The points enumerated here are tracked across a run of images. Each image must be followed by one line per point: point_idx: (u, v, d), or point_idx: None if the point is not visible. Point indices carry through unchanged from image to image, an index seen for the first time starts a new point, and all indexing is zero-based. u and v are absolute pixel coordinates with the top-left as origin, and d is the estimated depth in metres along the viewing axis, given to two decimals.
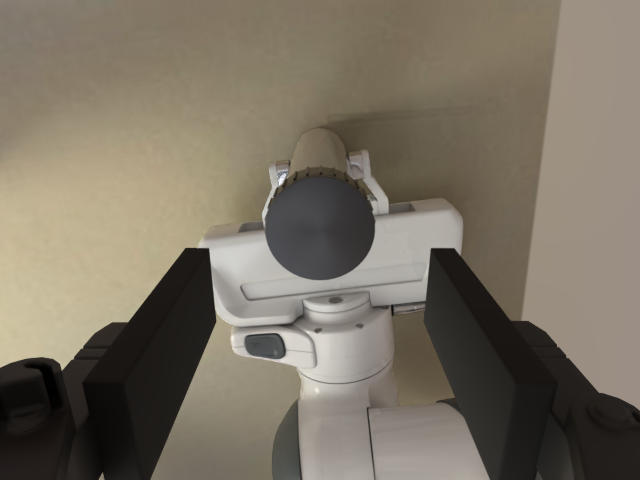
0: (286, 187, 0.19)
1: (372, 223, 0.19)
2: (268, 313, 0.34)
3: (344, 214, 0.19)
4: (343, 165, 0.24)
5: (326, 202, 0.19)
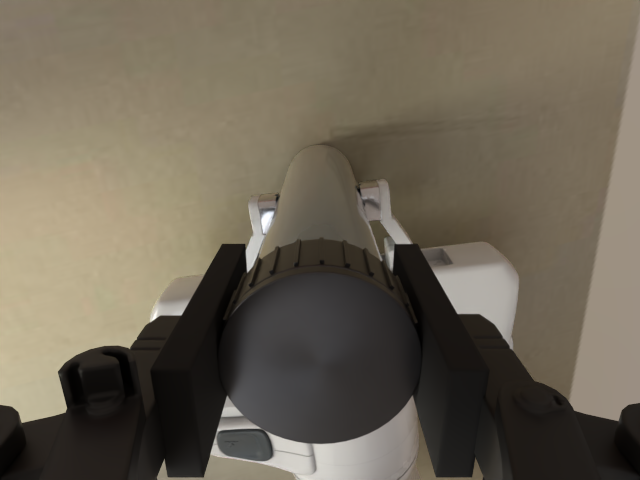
0: (255, 290, 0.10)
1: (418, 353, 0.10)
2: None
3: (367, 339, 0.10)
4: (357, 218, 0.15)
5: (332, 317, 0.10)
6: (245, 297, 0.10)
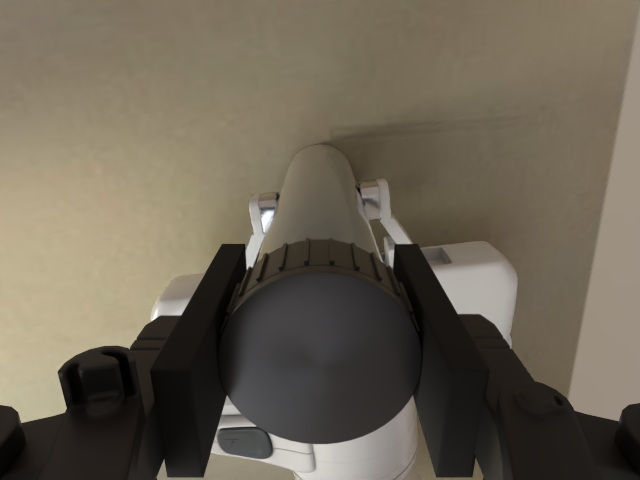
0: (221, 378, 0.11)
1: (352, 281, 0.10)
2: None
3: (311, 317, 0.10)
4: (356, 217, 0.16)
5: (274, 335, 0.10)
6: (224, 388, 0.11)
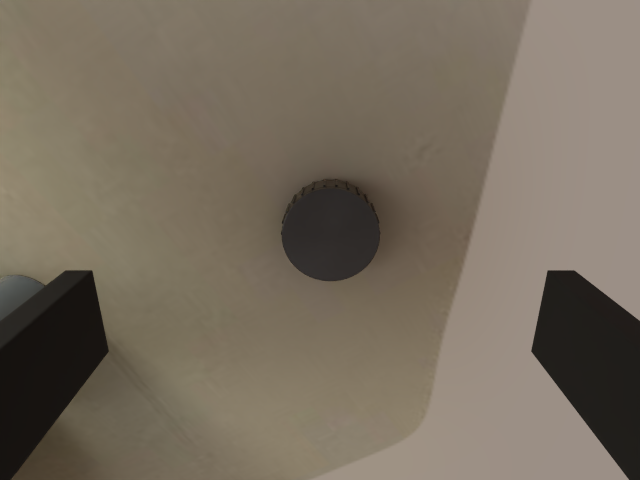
0: (283, 244, 0.22)
1: (345, 192, 0.21)
2: None
3: (326, 211, 0.22)
4: None
5: (309, 220, 0.22)
6: (284, 249, 0.22)
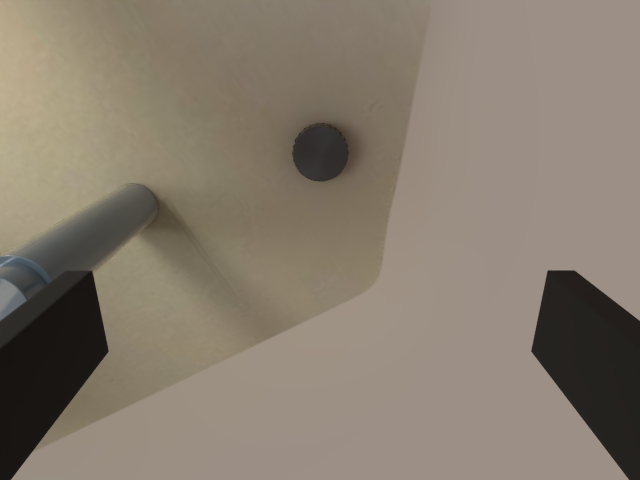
0: (293, 159, 0.39)
1: (328, 128, 0.38)
2: None
3: (318, 139, 0.39)
4: (85, 270, 0.30)
5: (308, 145, 0.39)
6: (294, 162, 0.40)
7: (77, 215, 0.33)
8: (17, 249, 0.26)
